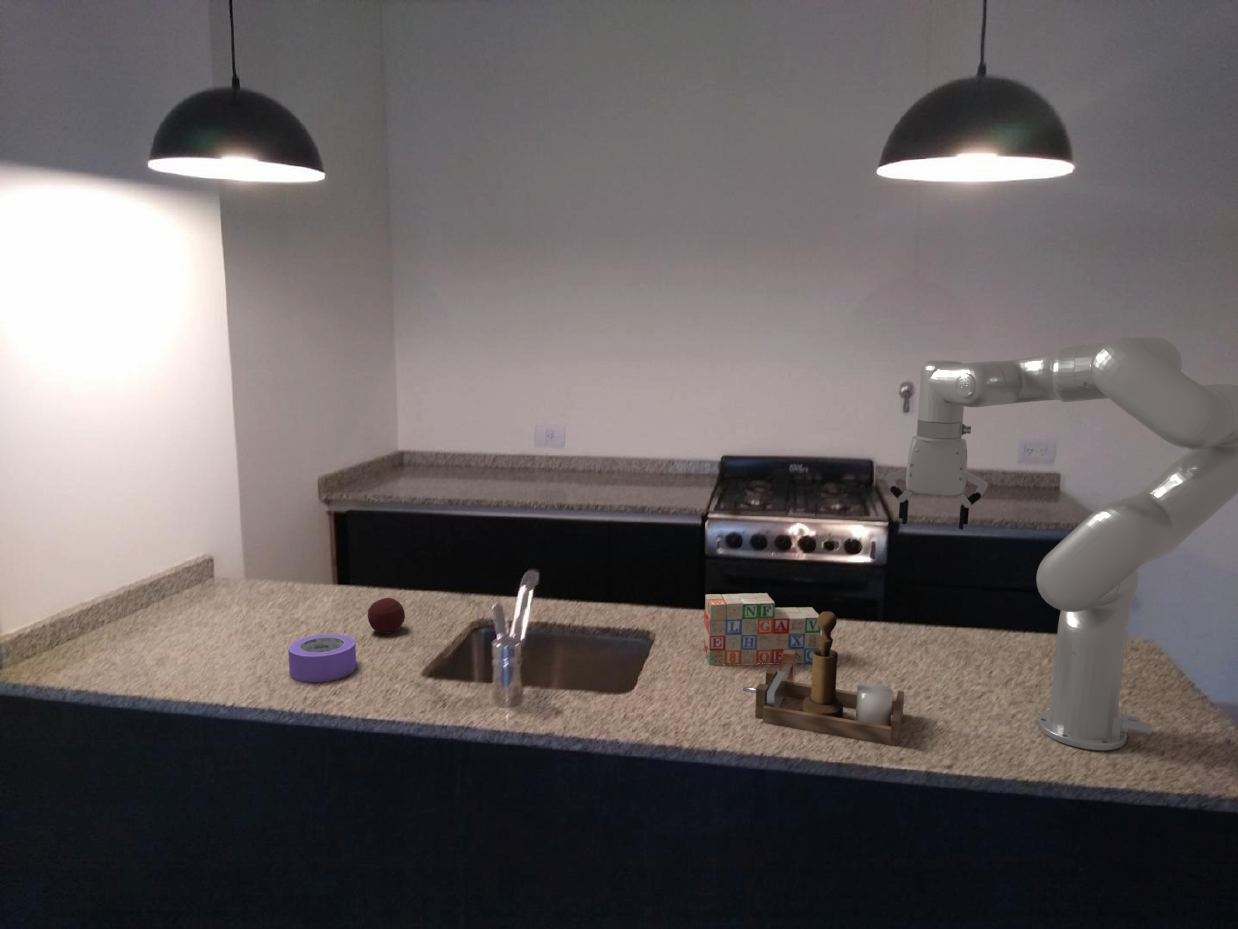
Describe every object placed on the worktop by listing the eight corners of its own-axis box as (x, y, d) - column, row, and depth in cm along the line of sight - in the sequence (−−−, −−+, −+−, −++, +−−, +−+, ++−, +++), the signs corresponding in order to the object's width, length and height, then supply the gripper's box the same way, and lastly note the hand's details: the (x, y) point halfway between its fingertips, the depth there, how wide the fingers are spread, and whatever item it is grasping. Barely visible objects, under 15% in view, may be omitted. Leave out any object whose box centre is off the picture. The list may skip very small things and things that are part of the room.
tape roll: (333, 653, 174) (332, 628, 173) (369, 668, 167) (368, 643, 166) (277, 671, 165) (275, 645, 164) (312, 688, 158) (310, 661, 157)
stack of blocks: (810, 652, 177) (813, 592, 175) (819, 664, 171) (822, 602, 169) (703, 653, 176) (704, 593, 174) (708, 666, 169) (710, 603, 167)
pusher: (794, 682, 162) (795, 650, 161) (775, 719, 147) (777, 685, 146) (758, 676, 164) (759, 645, 163) (736, 712, 149) (737, 678, 148)
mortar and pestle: (794, 715, 149) (798, 611, 146) (816, 704, 153) (821, 603, 150) (828, 729, 144) (834, 622, 141) (850, 716, 148) (856, 612, 145)
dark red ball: (361, 635, 183) (360, 602, 182) (381, 623, 190) (380, 591, 189) (393, 640, 181) (392, 606, 180) (412, 627, 188) (411, 595, 187)
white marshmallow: (892, 721, 147) (894, 686, 146) (888, 735, 142) (891, 700, 141) (857, 715, 149) (859, 681, 148) (853, 729, 144) (855, 694, 143)
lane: (902, 714, 150) (904, 685, 149) (896, 746, 139) (898, 715, 138) (769, 692, 158) (770, 665, 157) (753, 720, 147) (754, 691, 146)
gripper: (991, 431, 159) (984, 525, 162) (890, 425, 165) (884, 516, 168) (992, 436, 152) (984, 534, 155) (886, 430, 158) (880, 525, 161)
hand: (932, 525), depth 162 cm, fingers open, 9 cm apart
